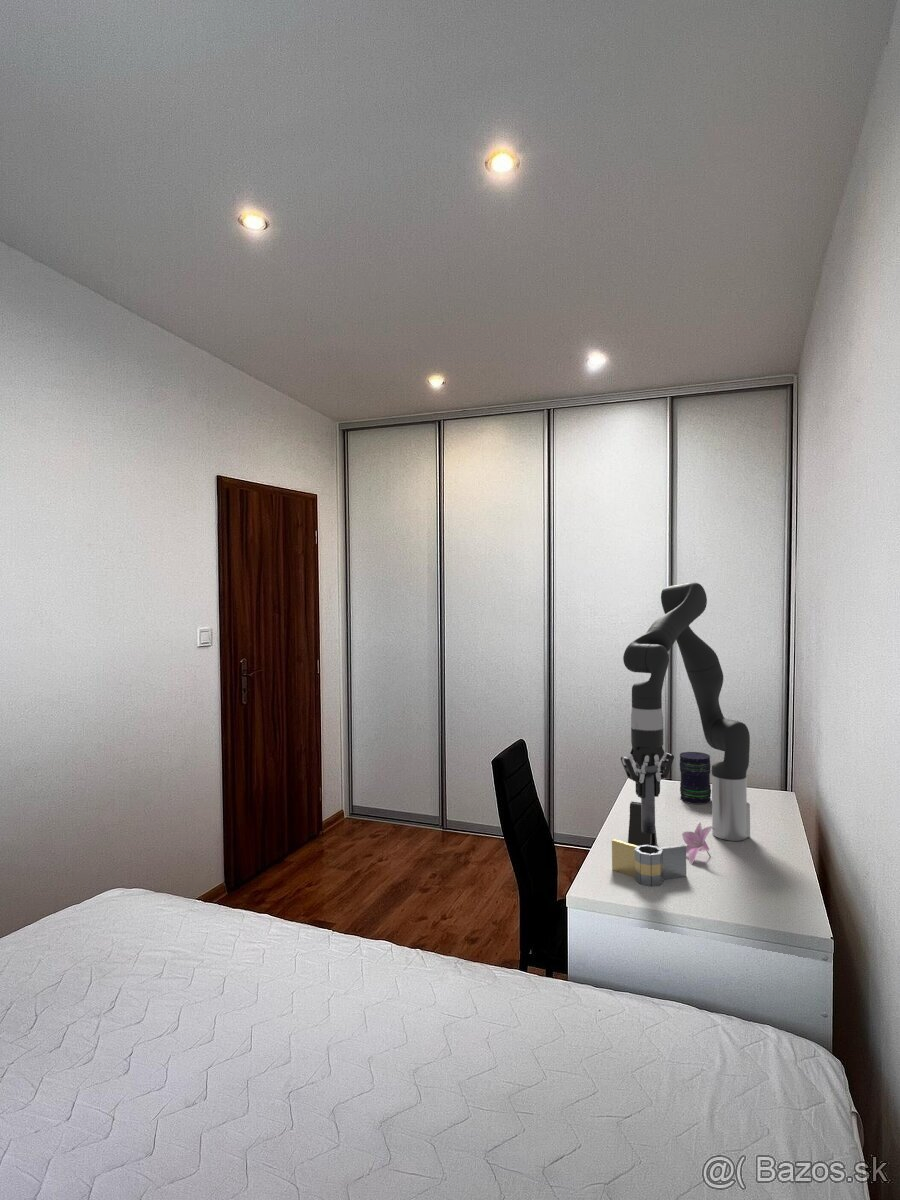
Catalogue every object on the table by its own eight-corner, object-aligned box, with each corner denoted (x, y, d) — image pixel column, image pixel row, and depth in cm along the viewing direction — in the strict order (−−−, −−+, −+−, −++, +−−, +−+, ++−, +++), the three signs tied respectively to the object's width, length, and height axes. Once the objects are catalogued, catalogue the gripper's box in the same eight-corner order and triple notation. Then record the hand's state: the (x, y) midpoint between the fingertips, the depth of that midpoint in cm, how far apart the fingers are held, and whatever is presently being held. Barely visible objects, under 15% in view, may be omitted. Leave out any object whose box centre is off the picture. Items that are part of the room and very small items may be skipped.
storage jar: (707, 805, 220) (706, 760, 220) (676, 801, 226) (675, 756, 226) (714, 797, 229) (713, 753, 228) (684, 793, 234) (683, 750, 234)
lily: (683, 850, 185) (670, 825, 184) (722, 839, 182) (709, 813, 180) (688, 879, 175) (674, 852, 174) (729, 867, 171) (715, 840, 170)
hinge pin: (651, 827, 167) (650, 761, 167) (662, 833, 163) (661, 765, 162) (634, 829, 166) (633, 762, 166) (644, 836, 161) (643, 767, 161)
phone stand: (649, 854, 181) (648, 809, 181) (627, 850, 184) (626, 806, 184) (657, 843, 189) (656, 800, 189) (635, 839, 192) (635, 797, 192)
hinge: (664, 861, 176) (664, 833, 175) (692, 880, 164) (692, 849, 164) (611, 868, 172) (610, 839, 172) (635, 888, 160) (635, 857, 160)
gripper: (664, 721, 170) (664, 789, 170) (613, 724, 166) (614, 794, 166) (681, 727, 162) (682, 798, 162) (628, 730, 159) (629, 803, 159)
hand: (647, 796), depth 164 cm, fingers closed on hinge pin, 3 cm apart
